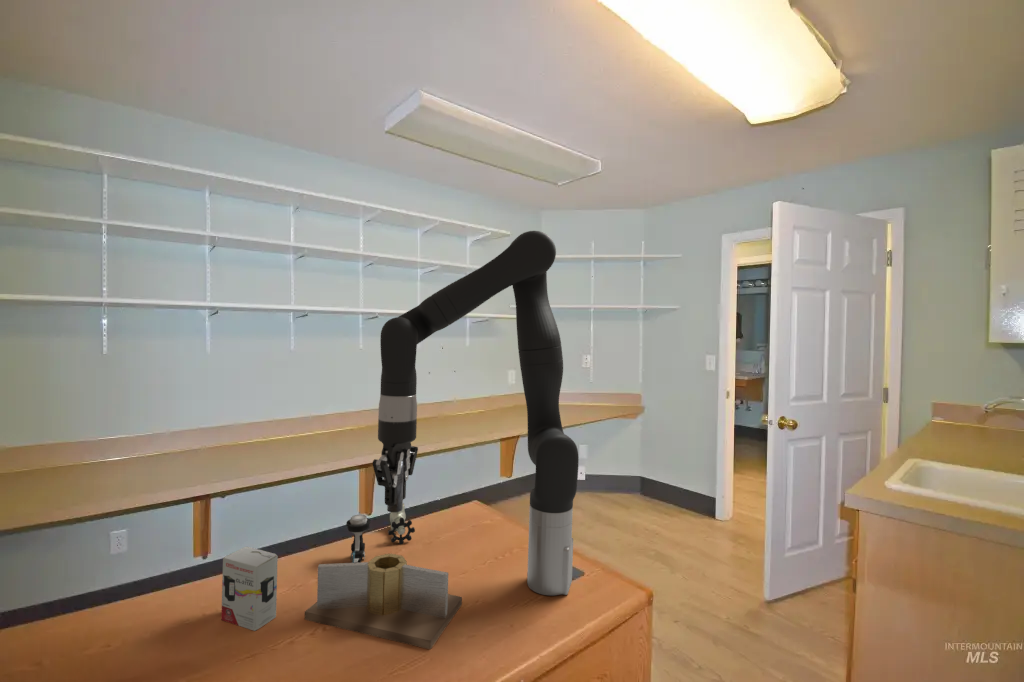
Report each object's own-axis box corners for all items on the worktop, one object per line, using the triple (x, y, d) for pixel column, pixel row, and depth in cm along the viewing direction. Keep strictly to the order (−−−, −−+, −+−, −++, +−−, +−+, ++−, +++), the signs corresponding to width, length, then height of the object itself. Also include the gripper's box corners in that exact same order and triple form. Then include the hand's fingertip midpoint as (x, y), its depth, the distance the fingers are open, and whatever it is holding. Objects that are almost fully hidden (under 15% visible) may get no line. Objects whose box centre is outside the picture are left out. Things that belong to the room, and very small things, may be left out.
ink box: (219, 620, 87) (220, 556, 87) (243, 606, 92) (244, 545, 91) (255, 632, 84) (256, 566, 84) (277, 616, 89) (278, 554, 88)
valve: (384, 527, 130) (387, 546, 118) (384, 503, 129) (388, 520, 118) (408, 524, 132) (414, 543, 121) (409, 500, 132) (415, 517, 120)
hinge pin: (405, 508, 97) (406, 459, 97) (397, 513, 94) (398, 463, 94) (392, 505, 98) (393, 457, 98) (384, 511, 95) (385, 461, 95)
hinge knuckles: (453, 606, 91) (454, 565, 91) (432, 635, 82) (433, 590, 82) (345, 584, 98) (346, 545, 98) (315, 608, 89) (316, 566, 89)
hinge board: (461, 604, 94) (462, 596, 94) (430, 649, 81) (430, 640, 81) (350, 581, 102) (350, 574, 101) (304, 619, 88) (304, 611, 88)
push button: (367, 567, 107) (368, 524, 107) (342, 569, 106) (343, 524, 106) (370, 554, 114) (371, 512, 114) (347, 555, 113) (348, 513, 113)
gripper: (395, 424, 88) (392, 517, 88) (430, 412, 101) (428, 493, 102) (360, 421, 90) (358, 511, 91) (399, 409, 104) (397, 488, 104)
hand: (395, 501), depth 96 cm, fingers closed on hinge pin, 3 cm apart
